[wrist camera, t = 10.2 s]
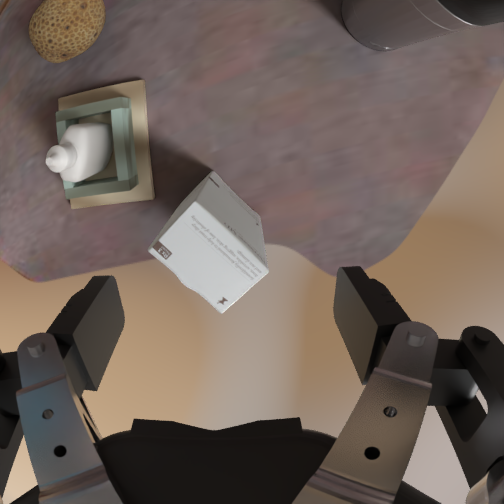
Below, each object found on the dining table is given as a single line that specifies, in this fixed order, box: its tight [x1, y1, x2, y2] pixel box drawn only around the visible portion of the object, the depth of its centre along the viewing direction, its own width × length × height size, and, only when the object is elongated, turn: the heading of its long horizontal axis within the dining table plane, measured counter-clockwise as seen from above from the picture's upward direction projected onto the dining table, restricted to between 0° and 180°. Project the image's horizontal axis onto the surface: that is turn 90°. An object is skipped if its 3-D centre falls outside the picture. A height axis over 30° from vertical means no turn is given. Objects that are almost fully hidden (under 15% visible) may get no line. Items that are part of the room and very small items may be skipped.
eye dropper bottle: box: [46, 122, 114, 182], centre depth 27 cm, size 4×6×12 cm
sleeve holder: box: [55, 80, 155, 209], centre depth 31 cm, size 14×11×4 cm
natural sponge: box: [29, 0, 106, 63], centre depth 23 cm, size 9×9×10 cm
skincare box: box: [148, 171, 269, 313], centre depth 31 cm, size 8×6×15 cm
